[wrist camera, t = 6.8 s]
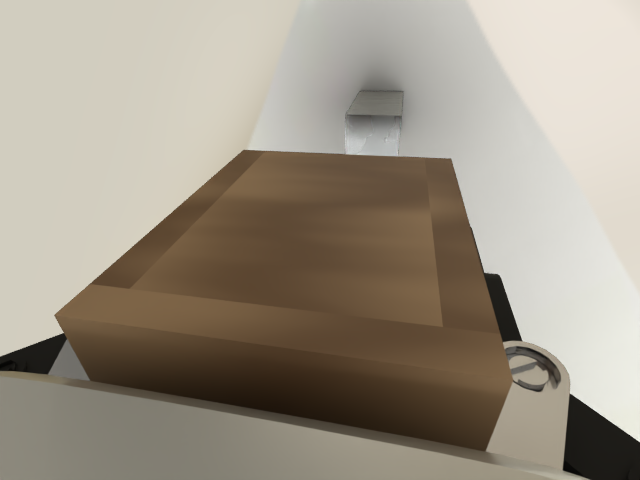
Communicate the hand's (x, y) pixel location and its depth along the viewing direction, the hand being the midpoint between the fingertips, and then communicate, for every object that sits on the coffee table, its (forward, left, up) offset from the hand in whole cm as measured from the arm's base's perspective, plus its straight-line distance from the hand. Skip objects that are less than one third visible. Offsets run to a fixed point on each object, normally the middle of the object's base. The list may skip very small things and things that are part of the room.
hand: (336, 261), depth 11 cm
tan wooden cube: (0, 0, -1) cm, 1 cm away
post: (0, 0, -20) cm, 20 cm away
